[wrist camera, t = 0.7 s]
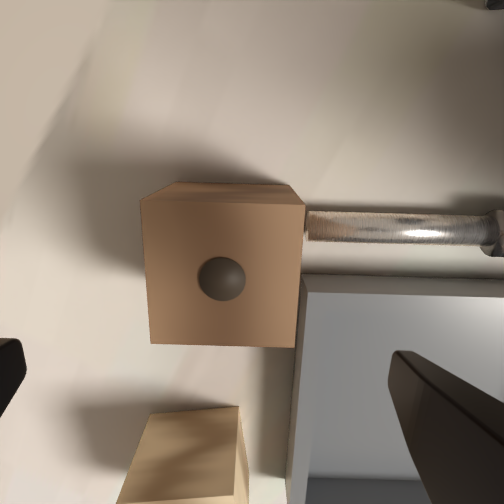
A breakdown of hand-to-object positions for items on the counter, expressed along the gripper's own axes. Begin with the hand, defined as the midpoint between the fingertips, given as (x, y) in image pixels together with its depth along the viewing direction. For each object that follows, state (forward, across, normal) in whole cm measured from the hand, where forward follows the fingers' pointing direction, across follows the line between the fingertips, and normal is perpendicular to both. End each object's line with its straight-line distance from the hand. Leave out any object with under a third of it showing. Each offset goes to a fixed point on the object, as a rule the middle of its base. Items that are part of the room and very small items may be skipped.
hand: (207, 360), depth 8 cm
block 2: (+11, +2, +15) cm, 19 cm away
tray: (+11, -12, +10) cm, 19 cm away
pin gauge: (+11, -9, -1) cm, 14 cm away
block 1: (+11, 0, 0) cm, 11 cm away
